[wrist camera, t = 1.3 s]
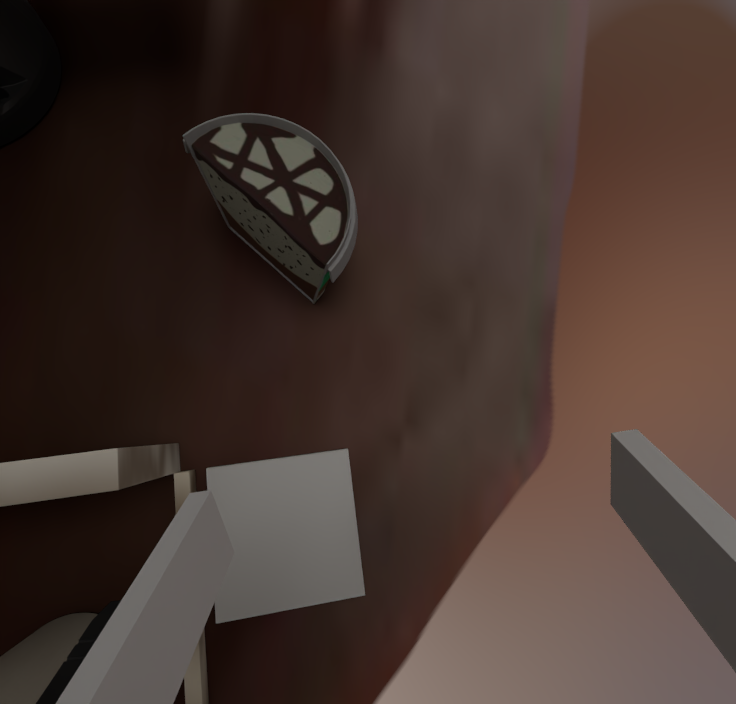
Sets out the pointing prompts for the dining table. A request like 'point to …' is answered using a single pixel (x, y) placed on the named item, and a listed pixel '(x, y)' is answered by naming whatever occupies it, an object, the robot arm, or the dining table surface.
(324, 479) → the mat
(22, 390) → the dining table surface
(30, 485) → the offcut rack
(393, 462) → the dining table surface
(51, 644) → the travel mug
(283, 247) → the food container
